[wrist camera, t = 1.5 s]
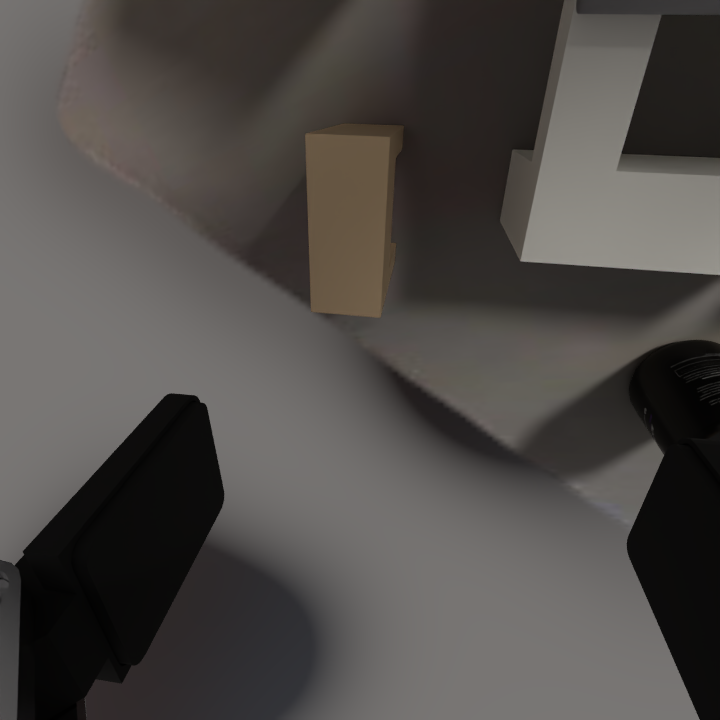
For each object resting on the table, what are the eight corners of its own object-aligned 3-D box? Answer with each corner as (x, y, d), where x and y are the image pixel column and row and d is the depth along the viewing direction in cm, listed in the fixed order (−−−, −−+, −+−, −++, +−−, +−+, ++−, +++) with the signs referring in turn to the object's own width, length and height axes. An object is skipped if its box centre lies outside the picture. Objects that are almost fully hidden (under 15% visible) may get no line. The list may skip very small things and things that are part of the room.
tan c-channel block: (344, 123, 26) (305, 133, 18) (404, 125, 26) (390, 136, 18) (343, 257, 30) (311, 311, 23) (394, 261, 30) (380, 317, 22)
